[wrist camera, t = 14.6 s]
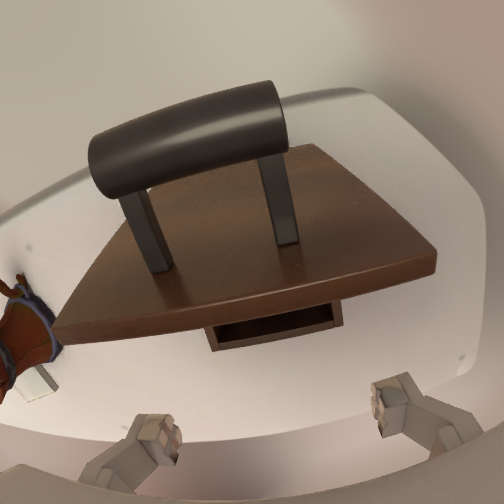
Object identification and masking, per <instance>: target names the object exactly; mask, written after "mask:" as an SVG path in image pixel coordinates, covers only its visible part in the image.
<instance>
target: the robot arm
mask: <svg viewBox="0 0 504 504" xmlns="http://www.w3.org/2000/svg"><path fill="white" fill-rule="evenodd" d="M371 391H372V394H373V396H372V397H371V406H372V412H373V415H374V418H375V419H376V420H378V428H379V431H380V433H381V436H382V438H386V437H389V436H392V435H395V434H399V433H402V432H403V434H404V435H406V436H407V437H409V438H411V439H412V440H414V441H415V442H417V443H419V444H420V445H421V446H423V447H424V448H426V449H428V450H429V451H431V453H430V456H429V459H428V460H427V461H424V462H422V463H419V464H417V465H414V466H411V467H408V468H406V469H403V470H400V471H397V472H394V473H391V474H388V475H385V476H382V477H379V478H375V479H371V480H368V481H365V482H360V483H357V484H353V485H348V486H344V487H340V488H335V489H330V490H325V491H320V492H315V493H309V494H302V495H296V496H288V497H279V498H270V499H257V500H236V501H202V500H183V499H169V498H160V497H151V496H143V495H137V494H136V493H135V492H134V490H135V489H136V488H137V486H139V485H140V484H141V483H142V482H143V481H144V480H145V479H146V478H147V477H148V476H149V475H150V474H151V473H152V472H153V471H154V470H155V469H156V468H157V467H158V465H164V466H168V465H169V466H175V465H176V462H177V459H178V455H179V454H178V452H177V451H176V450H178V449H179V448H180V447H181V444H182V434H181V431H180V429H179V427H178V426H176V425H175V424H173V423H174V419H173V417H172V416H171V415H169V414H138V415H137V416H136V417H135V420H134V422H133V424H132V426H131V428H130V430H129V432H128V434H127V436H126V439H122V440H120V441H119V442H118V443H116V444H115V445H113V446H112V447H111V448H109V449H107V450H106V451H105V452H103V453H102V454H100V455H99V456H97V457H96V458H94V459H93V460H91V461H90V462H89V463H87V464H86V466H85V468H84V470H83V472H82V474H81V476H80V478H79V480H78V481H73V480H69V479H66V478H63V477H60V476H57V475H54V474H51V473H47V472H45V471H42V470H39V469H36V468H34V467H32V466H29V465H26V464H19V465H16V466H14V467H12V468H9V469H7V470H6V471H3V472H1V473H0V504H504V422H502V423H500V424H498V425H497V426H495V427H494V428H492V429H490V430H488V431H486V432H485V433H484V431H483V430H482V428H481V427H480V425H479V424H478V422H477V421H476V419H475V418H474V416H473V415H472V413H469V412H467V411H464V410H462V409H459V408H457V407H454V406H451V405H449V404H446V403H444V402H441V401H439V400H436V399H434V398H432V397H429V396H423V395H422V394H421V392H420V390H419V389H418V387H417V385H416V384H415V382H414V381H413V379H412V377H411V376H410V374H409V373H408V372H404V373H402V374H399V375H396V376H393V377H390V378H387V379H383V380H380V381H377V382H373V383H372V384H371Z"/></svg>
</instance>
